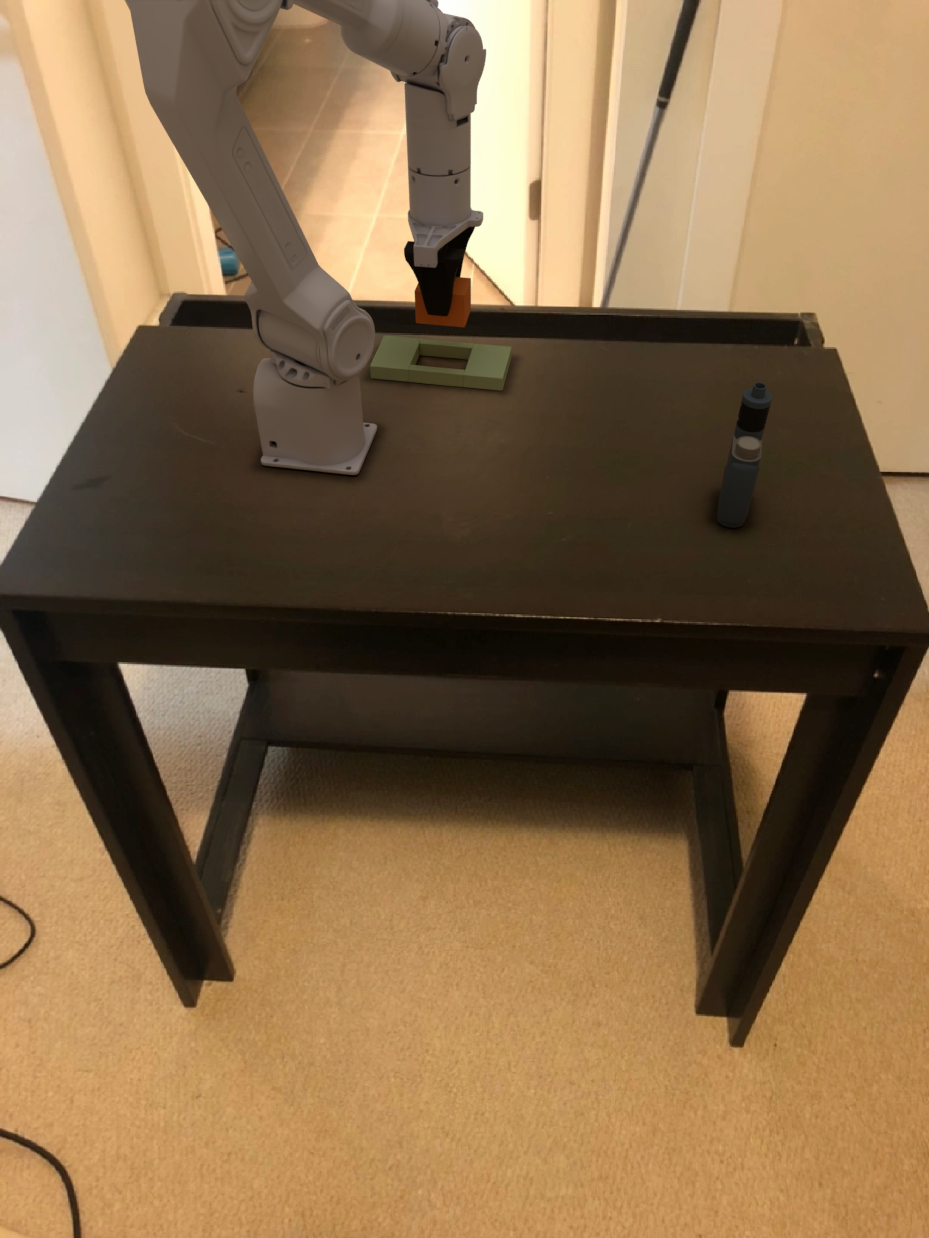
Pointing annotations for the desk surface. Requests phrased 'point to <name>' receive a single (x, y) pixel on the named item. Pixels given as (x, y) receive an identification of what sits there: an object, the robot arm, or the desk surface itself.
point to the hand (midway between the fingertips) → (442, 304)
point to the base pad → (403, 353)
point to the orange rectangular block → (457, 310)
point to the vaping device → (744, 457)
